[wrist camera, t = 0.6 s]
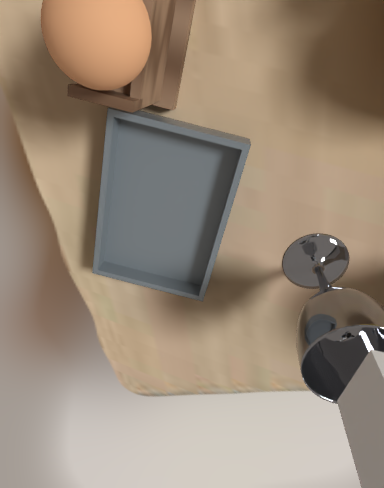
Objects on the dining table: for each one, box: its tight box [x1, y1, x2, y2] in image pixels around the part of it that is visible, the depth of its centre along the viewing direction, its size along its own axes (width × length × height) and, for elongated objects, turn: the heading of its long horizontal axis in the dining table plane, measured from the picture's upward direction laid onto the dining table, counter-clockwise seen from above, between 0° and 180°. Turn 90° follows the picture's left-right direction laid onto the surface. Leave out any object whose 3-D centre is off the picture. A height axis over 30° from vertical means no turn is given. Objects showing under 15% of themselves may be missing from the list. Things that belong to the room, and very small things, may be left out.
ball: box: [41, 0, 152, 90], centre depth 19 cm, size 6×6×6 cm
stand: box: [68, 0, 196, 113], centre depth 25 cm, size 9×7×10 cm
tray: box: [92, 107, 251, 301], centre depth 35 cm, size 18×13×3 cm
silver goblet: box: [283, 234, 384, 404], centre depth 31 cm, size 8×8×15 cm
